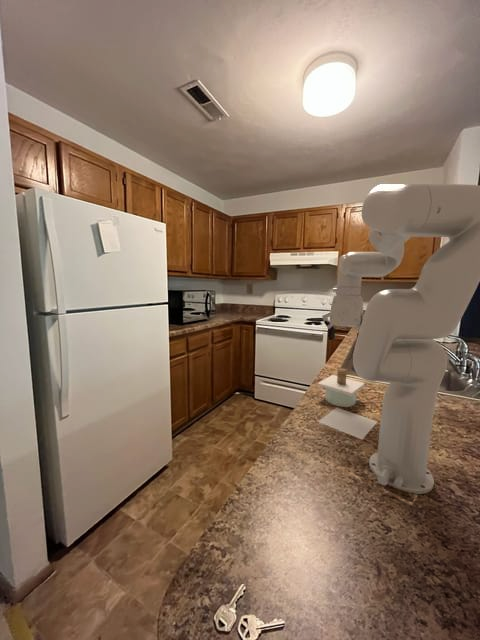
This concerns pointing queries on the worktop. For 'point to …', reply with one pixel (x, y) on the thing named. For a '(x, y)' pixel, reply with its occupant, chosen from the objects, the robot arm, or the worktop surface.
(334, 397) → the bowl
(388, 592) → the worktop surface
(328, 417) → the mat
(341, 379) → the cover
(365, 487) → the worktop surface
